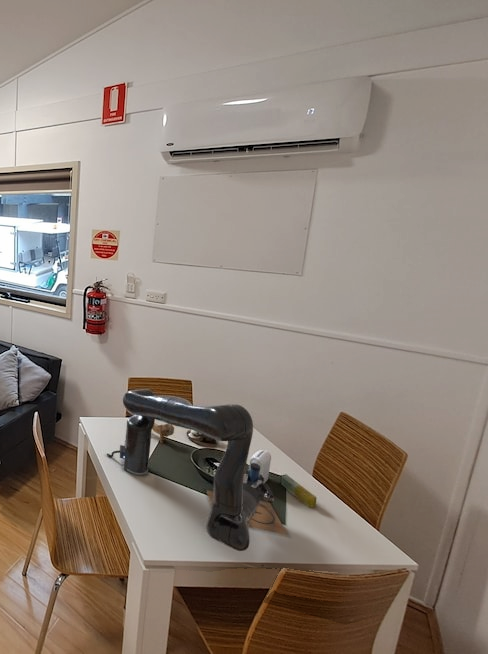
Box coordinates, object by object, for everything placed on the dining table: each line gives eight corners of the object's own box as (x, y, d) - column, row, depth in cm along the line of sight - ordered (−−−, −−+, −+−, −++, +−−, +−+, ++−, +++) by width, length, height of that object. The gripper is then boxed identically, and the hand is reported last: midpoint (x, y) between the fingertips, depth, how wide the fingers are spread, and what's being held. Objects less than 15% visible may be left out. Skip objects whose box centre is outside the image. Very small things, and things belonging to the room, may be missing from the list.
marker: (247, 498, 126) (252, 467, 124) (245, 493, 129) (249, 462, 127) (256, 500, 125) (261, 468, 123) (254, 495, 128) (258, 463, 126)
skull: (192, 444, 163) (188, 420, 168) (185, 448, 171) (182, 424, 177) (222, 447, 160) (217, 422, 166) (214, 450, 169) (209, 427, 174)
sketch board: (216, 520, 124) (216, 519, 124) (204, 487, 139) (204, 486, 139) (287, 536, 118) (288, 534, 118) (267, 499, 133) (267, 498, 133)
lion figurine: (174, 442, 166) (176, 423, 165) (170, 447, 163) (172, 428, 161) (142, 428, 177) (143, 411, 175) (137, 432, 173) (138, 415, 172)
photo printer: (256, 473, 147) (261, 445, 144) (269, 479, 143) (274, 450, 141) (244, 483, 141) (249, 454, 139) (257, 490, 138) (262, 460, 135)
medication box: (279, 484, 141) (279, 474, 140) (286, 483, 141) (286, 473, 140) (309, 508, 129) (310, 498, 128) (316, 507, 129) (317, 497, 129)
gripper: (271, 503, 111) (282, 475, 122) (218, 478, 121) (233, 455, 132) (268, 524, 112) (279, 495, 124) (216, 499, 122) (231, 474, 134)
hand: (255, 475), depth 128 cm, fingers closed on marker, 2 cm apart
